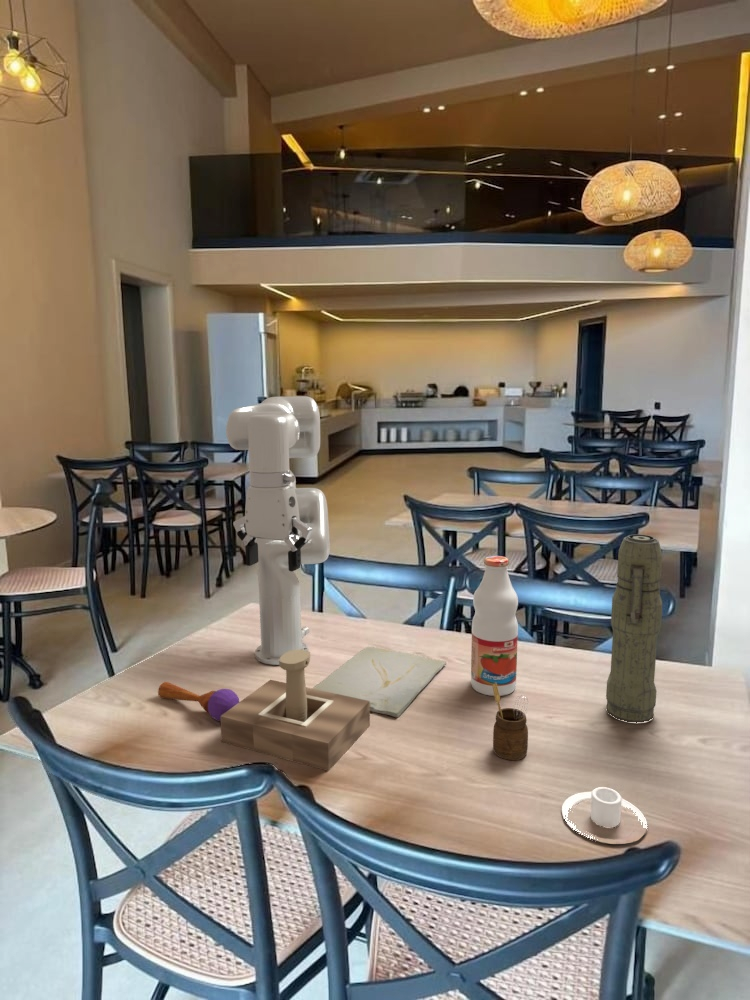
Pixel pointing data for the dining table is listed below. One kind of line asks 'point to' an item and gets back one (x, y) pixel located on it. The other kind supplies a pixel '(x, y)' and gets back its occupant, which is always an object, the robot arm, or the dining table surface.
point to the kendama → (202, 698)
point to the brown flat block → (296, 725)
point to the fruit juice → (494, 630)
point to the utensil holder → (510, 731)
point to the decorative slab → (382, 678)
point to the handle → (295, 683)
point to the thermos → (635, 630)
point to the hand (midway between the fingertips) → (273, 566)
